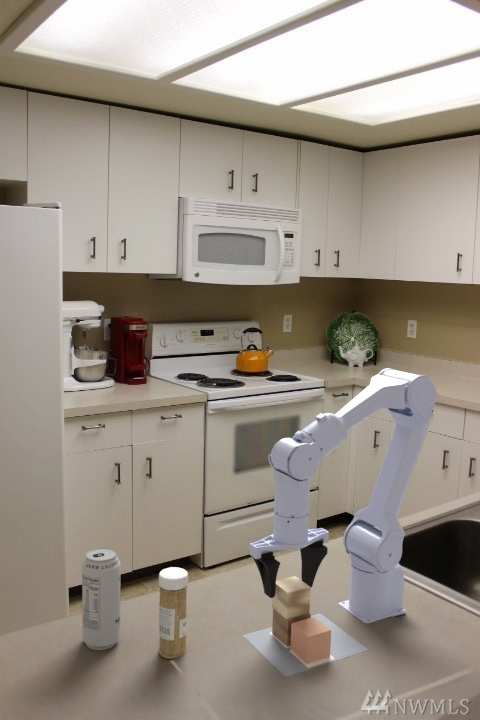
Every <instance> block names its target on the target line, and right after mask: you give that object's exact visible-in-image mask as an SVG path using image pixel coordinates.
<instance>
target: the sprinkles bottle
mask: <svg viewBox="0 0 480 720" xmlns="http://www.w3.org/2000/svg"><path fill="white" fill-rule="evenodd" d="M188 583H189V573H188V571H187V570H186V569H184V568H181V567H178V566H177V567H176V566H175V567H174V566H170V567H167V568H163V569H162V570H161V571H160V572H159V574H158V587H159V603H158V608H159V609H158V611H159V612H158V634H159V647H158V654H159V655H160V657H161V658H163V659H167V660H173V658H179V657H182V656H183V655H184V654H186V653H187V649H188V648H187V614H188V613H187V610H188V607H187V588H188Z"/></svg>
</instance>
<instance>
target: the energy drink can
mask: <svg viewBox="0 0 480 720" xmlns="http://www.w3.org/2000/svg"><path fill="white" fill-rule="evenodd" d="M121 566H122V565H121V560H120V559H119V558H118V553H117V551H116V550H114V549H112V548H108V547H107V548H106V547H105V548H104V547H100V548H93V549H92V550H89V551H87V552H86V554H85V559H84V561H83V562H82V567H81V570H82V571H81V573H82V574H81V577H82V578H81V579H82V582H81V583H82V585H81V587H82V589H81V590H82V592H81V594H82V596H81V598H82V641H83V642H84V643H85V645H86V646H87V647H88V648H89V649H91V650H94V651H105V650H108V649H111V648H113V647H114V646H116V644H117V643H118V641H119V640H120V637H121V571H122V570H121V568H122V567H121Z"/></svg>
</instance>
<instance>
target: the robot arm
mask: <svg viewBox="0 0 480 720" xmlns="http://www.w3.org/2000/svg"><path fill="white" fill-rule="evenodd" d="M369 381H370V383H369V385H368V386H366V387H365V388H364V389H363V390H361V391H360V392H359V393H358V394H357V395H356V396H355V397H353V398H352V399H351V400H350V401H349V402H348V403H347V404H345V405H344V406H343V407H342V408H340V410H338V411H337V412H336V413H335V414H334V413H331V412H324V413H318V415H316V416H315V420H313V421H312V422H311V423H309V424H308V425H307V426H305V427H304V428H303V429H301V430H298V431H296V432H295V433H294V435H293V436H292V437H284V438H281V439H280V440H278V441H277V442H276V443H275V444H274V445H273V447H272V449H271V452H270V454H268V455H267V459H268V463H269V465H270V466H271V468H272V469H273V478H274V500H273V501H274V502H273V503H274V505H273V531H272V534H270V535H268V536H266V537H264V538H262V539H260V540H258V541H255V542H250V543H249V555H250V556H251V557H252V559H253V561H254V563H255V564H256V567H257V569H258V572H259V575H260V576H259V577H260V578H261V582H262V587H263V592H264V595H266V596H267V597H268V598H270V599H272V598H274V597H275V591H276V580H277V576H278V572H279V568H280V566H281V562H280V561H279V560H277V559H276V556H275V555H274V554H276V553H280V552H284V551H288V550H290V551H291V550H300V559H301V574H300V575H301V581H303V582H304V583H306V584H307V585H308V586H310V587H311V588H313V585H314V582H315V579H316V575H317V573H318V570H319V569H320V565H321V563H322V562H323V560H324V559H325V557H326V556H327V554H328V549H329V548H328V546H326V545H324V544H328V543H329V542H330V541H329V540H330V539H329V537H330V532H329V531H328V530H327V529H326V528H325V529H324V528H323V527H319V528H312V529H311V528H310V529H309V519H310V517H309V516H310V490H311V477H314V475H315V474H316V472H317V471H318V468H319V465H320V463H321V462H323V459H324V458H325V457H327V456H328V455H329V454H330V453H332V452H333V451H334V450H336V449H337V448H338V447H340V446H342V444H343V443H345V442H346V441H347V439H348V433H349V430H350V429H352V428H354V427H355V426H357V425H359V424H360V423H361V422H363V421H365V420H367V418H369V417H371V416H372V415H373V414H375V413H377V412H378V411H380V410H382V409H386V410H387V412H388V413H389V414H390V415H391V417H392V419H393V422H395V428H394V430H393V431H394V432H393V434H392V436H391V439H390V442H389V445H388V448H387V451H386V454H385V455H384V456H385V457H384V460H383V462H382V464H381V468H380V470H379V474H378V477H377V480H376V483H375V485H374V488H373V491H372V494H371V497H370V499H369V502H368V505H367V506H366V507H364V508H362V509H360V510H358V511H356V512H355V514H354V516H353V519H352V520H351V522H350V524H348V526H347V527H346V529H345V531H344V533H343V537H342V541H343V542H342V543H343V547H344V549H345V551H347V552H348V559H349V560H350V571H349V573H350V574H349V588H348V589H349V592H348V593H349V594H348V599H347V600H344V601H341V602H338V605H339V606H340V607H341V608H343V609H344V610H346V611H347V612H349V613H350V614H351V615H353V617H356V618H357V619H358V620H360V621H361V622H362V623H365V624H370V623H374V622H377V621H379V620H383V619H387V618H389V617H397V616H400V615H403V614H406V612H407V610H406V609H405V608H403V606H404V605H403V604H404V592H405V591H404V590H405V589H404V588H405V576H404V571H403V568H402V566H401V564H400V563H399V562H400V561H401V558H402V555H403V541H404V538H405V536H406V533H405V530H404V528H403V526H402V525H401V524H402V523H400V520H399V518H398V516H399V513H400V511H401V508H402V505H403V502H404V499H405V497H406V493H407V491H408V488H409V485H410V482H411V479H412V476H413V473H414V471H415V468H416V465H417V462H418V459H419V457H420V453H421V450H422V447H423V446H424V441H425V440H426V436H427V434H428V430H429V428H430V424H431V423H430V422H431V416H432V413H433V410H434V408H435V404H436V402H437V399H438V396H439V393H438V392H437V389H436V387H435V384H434V382H433V381H434V380H432V378H431V377H430V376H427V375H424V374H416V373H410V372H406V371H401V370H396V369H394V368H389V367H387V368H384V369H382V370H380V372H379V373H378V374H376V375H373V376H372V377H371V378H370V380H369Z"/></svg>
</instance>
